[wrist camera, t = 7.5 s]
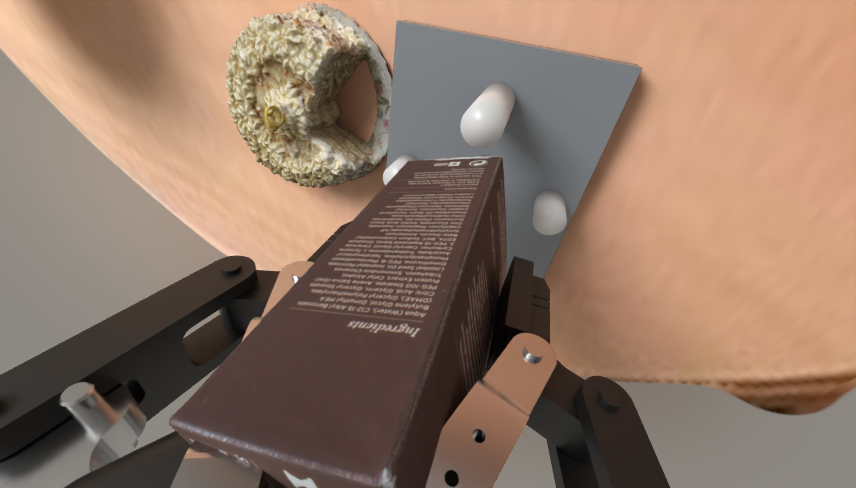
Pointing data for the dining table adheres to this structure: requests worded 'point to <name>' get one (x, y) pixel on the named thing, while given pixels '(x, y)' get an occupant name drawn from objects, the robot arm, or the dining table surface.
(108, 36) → the dining table surface
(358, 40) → the sea snail shell
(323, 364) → the box
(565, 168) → the pin tray
